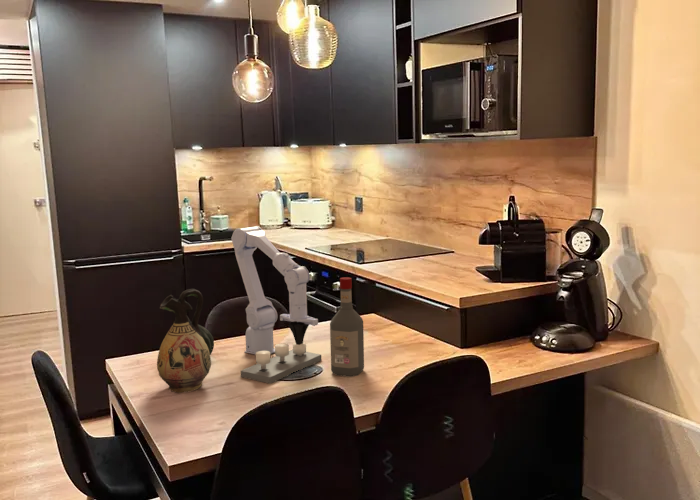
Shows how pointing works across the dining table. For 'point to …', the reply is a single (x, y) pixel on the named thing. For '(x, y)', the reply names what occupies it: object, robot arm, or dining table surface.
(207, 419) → the dining table surface
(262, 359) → the knob
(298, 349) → the knob
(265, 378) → the mount board
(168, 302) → the ceramic jug
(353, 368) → the liquor
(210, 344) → the squash
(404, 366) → the dining table surface
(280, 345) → the knob middle
